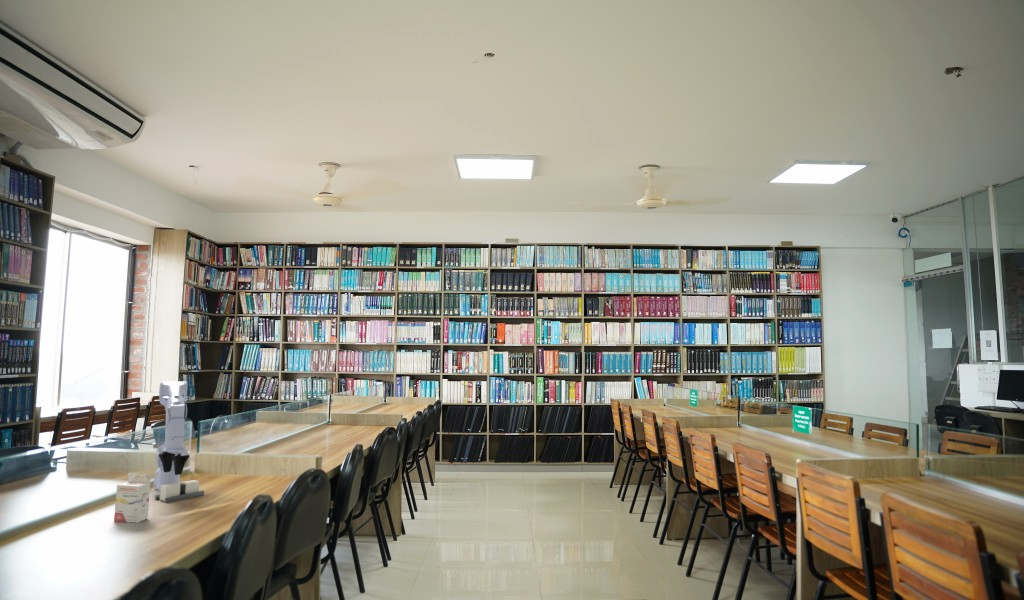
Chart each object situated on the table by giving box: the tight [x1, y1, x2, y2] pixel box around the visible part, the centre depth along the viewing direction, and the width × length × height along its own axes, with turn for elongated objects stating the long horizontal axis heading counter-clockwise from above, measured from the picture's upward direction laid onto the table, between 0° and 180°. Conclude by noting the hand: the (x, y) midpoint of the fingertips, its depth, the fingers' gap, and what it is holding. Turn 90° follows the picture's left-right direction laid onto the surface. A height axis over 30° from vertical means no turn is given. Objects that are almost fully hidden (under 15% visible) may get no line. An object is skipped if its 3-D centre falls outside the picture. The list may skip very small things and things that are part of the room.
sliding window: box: [153, 490, 205, 504], centre depth 216 cm, size 9×14×2 cm, turn 149°
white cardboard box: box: [159, 483, 181, 501], centre depth 213 cm, size 4×6×5 cm
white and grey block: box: [179, 479, 201, 495], centre depth 219 cm, size 4×6×5 cm
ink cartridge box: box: [113, 472, 151, 524], centre depth 190 cm, size 9×5×15 cm, turn 84°
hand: (172, 473), depth 218 cm, fingers open, 7 cm apart
